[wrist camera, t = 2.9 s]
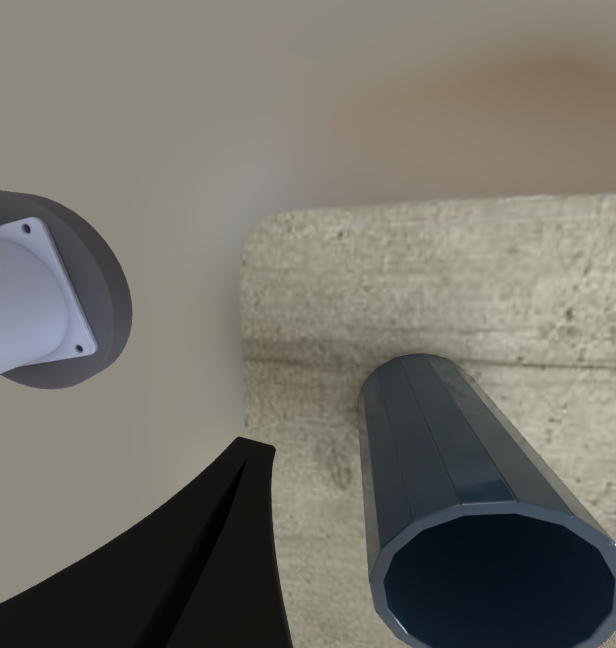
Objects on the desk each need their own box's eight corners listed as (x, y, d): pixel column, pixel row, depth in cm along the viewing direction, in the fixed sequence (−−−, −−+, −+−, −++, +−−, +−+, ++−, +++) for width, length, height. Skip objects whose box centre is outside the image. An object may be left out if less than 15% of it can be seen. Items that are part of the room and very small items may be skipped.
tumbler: (366, 459, 18) (386, 668, 9) (349, 362, 16) (354, 509, 8) (481, 450, 17) (622, 678, 8) (475, 345, 15) (646, 495, 6)
